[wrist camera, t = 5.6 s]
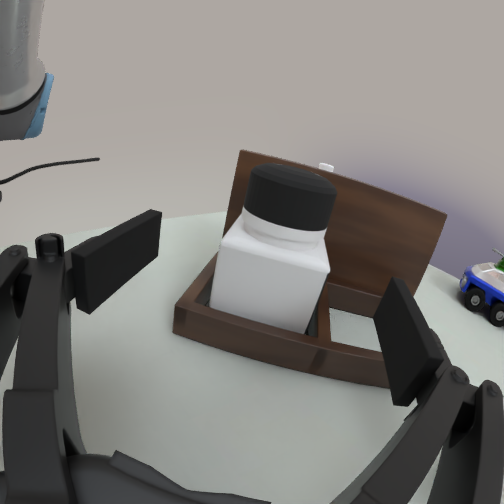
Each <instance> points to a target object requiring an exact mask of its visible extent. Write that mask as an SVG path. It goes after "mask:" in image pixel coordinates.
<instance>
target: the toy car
mask: <svg viewBox="0 0 504 504" xmlns="http://www.w3.org/2000/svg"><path fill="white" fill-rule="evenodd" d="M493 251H494V252H497V253H498V254H500V255H502V256H503V258H502V259H501V260H499V262H498V263H497V264H494V263H491V262H489V263H485V264H477V265H475V266H468V267H467V268H466V270H465V272H464V274H463V278H462V279H461V280H460V287H461V290H462V291H463V292H464V293H465V292H466V290H467V292H466V297H465V304H466V306H467V308H468V309H469V310H470V311H474V312H476V311H479V310H480V309H482V308H483V306H484V305H485V302H486V303H488V304H489V305H490V307H491V308H490V319H491V322H492V324H493V325H495V326H498V327H500V326H503V325H504V254H502V253H501V252H499V251H498V250H497V249H495V248H493Z"/></svg>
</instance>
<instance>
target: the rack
mask: <svg viewBox="0 0 504 504" xmlns="http://www.w3.org/2000/svg"><path fill="white" fill-rule="evenodd" d="M265 163H275V164H282V165H288V166H293V167H297V168H300V169H304V170H307V171H310V172H312V173H315V174H318V175H320V176H322V177H325V178H326V179H328V180H329V181H330V182H331V183H332V184H333V185H334V186H335V188H336V190H337V196H336V200H335V203H334V206H333V210H332V213H331V216H330V220H329V223H328V226H327V229H326V232H325V236H324V242H325V247H326V251H327V256H328V261H329V266H330V273H329V276H328V278H327V281H326V284H325V287H324V289H323V292H322V294H321V297H320V300H319V302H318V305H317V307H316V310H315V312H314V315H313V317H312V320H311V322H310V325H309V327H308V335H305V334H301V333H297V332H293V331H289V330H286V329H282V328H278V327H275V326H271V325H267V324H264V323H260V322H257V321H253V320H250V319H246V318H243V317H240V316H236V315H233V314H230V313H226V312H223V311H220V310H217V309H214V308H210V307H207V306H205V305H206V303H207V301H208V300H209V298H210V296H211V290H212V284H213V279H214V273H215V267H216V262H217V256H218V252H217V253H216V254H215V256H214V257H213V258H212V259H211V260H210V262H209V263H208V264H207V265H206V267H205V268H204V269H203V270H202V272H201V273H200V274H199V275H198V277H197V278H196V279H195V280H194V282H193V283H192V284H191V285H190V287H189V288H188V289H187V290H186V292H185V293H184V294H183V296H182V297H181V298H180V299H179V300H178V301H177V303H176V304H175V308H174V321H173V333H175V334H178V335H180V336H183V337H186V338H189V339H192V340H195V341H198V342H201V343H203V344H206V345H210V346H213V347H216V348H219V349H222V350H225V351H228V352H232V353H235V354H238V355H242V356H245V357H248V358H252V359H255V360H259V361H263V362H266V363H270V364H274V365H278V366H281V367H285V368H289V369H293V370H298V371H302V372H306V373H310V374H315V375H319V376H324V377H329V378H334V379H339V380H344V381H349V382H354V383H360V384H366V385H372V386H378V387H384V388H390V386H389V381H388V376H387V372H386V368H385V363H384V359H383V355H382V352H378V351H373V350H369V349H364V348H359V347H355V346H350V345H346V344H342V343H337V342H333V341H331V332H330V315H329V307H332V308H336V309H340V310H344V311H347V312H351V313H355V314H359V315H363V316H367V317H371V318H373V316H374V314H375V312H376V310H377V308H378V306H379V303H380V301H381V299H382V297H383V295H384V293H385V291H386V288H387V286H388V284H389V282H390V279H391V277H392V276H393V277H396V278H399V279H403V280H404V282H405V283H406V285H407V287H408V289H409V290H410V292H411V294H412V296H414V294H415V292H416V290H417V288H418V286H419V284H420V282H421V280H422V277H423V275H424V273H425V271H426V268H427V266H428V264H429V261H430V259H431V257H432V254H433V252H434V249H435V247H436V245H437V242H438V239H439V237H440V234H441V232H442V229H443V226H444V223H445V221H446V218H447V214H446V213H444V212H442V211H439V210H437V209H435V208H432V207H430V206H427V205H425V204H422V203H420V202H417V201H415V200H412V199H410V198H407V197H404V196H401V195H399V194H396V193H393V192H390V191H388V190H385V189H382V188H379V187H376V186H373V185H370V184H367V183H364V182H361V181H358V180H355V179H352V178H349V177H346V176H343V175H339V174H336V173H333V172H329V171H326V170H322V169H319V168H315V167H312V166H308V165H305V164H301V163H297V162H293V161H289V160H286V159H282V158H278V157H273V156H269V155H265V154H261V153H256V152H252V151H247V150H240V153H239V157H238V162H237V167H236V172H235V176H234V181H233V186H232V191H231V197H230V201H229V206H228V211H227V216H226V221H225V227H224V232H223V237H224V236H225V234H226V233H227V232H228V231H229V229H230V228H231V227H232V225H233V224H234V223H235V221H236V220H237V219H238V217H239V216H240V215H241V214H242V209H243V205H244V200H245V195H246V191H247V186H248V182H249V177H250V172H251V169H253V168H254V167H255V166H257V165H261V164H265ZM223 237H222V238H223Z"/></svg>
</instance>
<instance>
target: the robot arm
mask: <svg viewBox="0 0 504 504" xmlns="http://www.w3.org/2000/svg"><path fill="white" fill-rule="evenodd" d="M44 2H45V0H0V141H3V140H17V139H20V140H24V139H26V138H34V137H37V136H38V135H39V134H40V133H41V131H42V128H43V122H44V118H45V113H46V108H47V103H48V99H49V95H50V90H51V87H52V83H53V80H54V76H53V75H52V74H49V73H45V67H44V65H43V63H42V61H41V60H40V59H38V58H37V54H38V43H39V34H40V26H41V19H42V13H43V7H44ZM99 160H100V158H90V159H81V160H71V161H61V162H54V163H48V164H42V165H38V166H34V167H31V168H28V169H26V170H24V171H22V172H20V173H17V174H15V175H13V176H11V177H9V178H6V179H3V180H0V185H2V184H5V183H8V182H10V181H12V180H14V179H16V178H18V177H20V176H22V175H24V174H26V173H28V172H30V171H34V170H37V169H41V168H46V167H51V166H58V165H66V164H76V163H84V162H92V161H99ZM161 218H162V212H159V211H155V210H152V209H150V210H148V211H146V212H144V213H142V214H140V215H138V216H136V217H134V218H132V219H130V220H128V221H126V222H124V223H122V224H120V225H118V226H117V227H115V228H113V229H111V230H109V231H107V232H105V233H103V234H101V235H99V236H95V237H92V238H89V239H88V240H86V241H84V242H82V243H80V244H79V245H77V246H75V247H73V248H71V249H70V250H68V251H66V252H64V241H63V236H61V235H59V234H55V233H49V234H44V235H41V236H39V237H37V238H36V239H35V246H36V254H37V259H36V258H30V257H28V252H27V248H26V247H25V246H22V245H13V246H11V247H9V248H7V249H5V250H4V251H3V252H2V253H1V254H0V380H1V377H2V374H3V372H4V369H5V366H6V364H7V361H8V359H9V356H10V354H11V352H12V349H13V347H14V345H15V342H16V340H17V338H18V344H17V351H16V359H15V368H14V379H13V389H12V390H9V389H7V390H6V391H5V392H4V397H3V419H2V434H3V457H4V469H5V471H0V504H271V502H268V501H262V500H257V499H252V498H248V497H243V496H239V495H235V494H226V493H210V492H199V491H191V490H187V489H185V488H183V487H181V486H180V485H178V484H176V483H175V482H173V481H172V480H170V479H169V478H167V477H166V476H164V475H163V474H161V473H160V472H158V471H157V470H155V469H154V468H153V467H151V466H149V465H147V464H144V463H142V462H140V461H138V460H136V459H134V458H131V457H129V456H127V455H125V454H123V453H121V452H119V451H117V450H116V451H115V452H114V454H113V456H112V457H110V456H106V455H100V454H87V453H86V450H85V447H84V444H83V441H82V438H81V433H80V428H79V422H78V415H77V408H76V400H75V392H74V382H73V370H72V353H71V305H70V301H71V300H72V299H74V298H76V305H77V309H79V310H81V311H83V312H85V313H87V314H89V315H90V314H91V313H92V312H93V311H94V310H95V309H96V308H98V307H99V306H100V305H101V304H102V303H103V302H104V301H105V300H107V299H108V298H109V297H110V296H111V295H112V294H114V293H115V292H116V291H117V290H118V289H119V288H120V287H122V286H123V285H124V284H125V283H126V282H127V281H129V280H130V279H131V278H132V277H133V276H135V275H136V274H137V273H138V272H139V271H140V270H142V269H143V268H144V267H145V266H146V265H148V264H149V263H150V262H151V261H153V260H154V259H155V258H156V257H157V256H158V249H159V238H160V228H161ZM373 320H374V324H375V327H376V331H377V335H378V339H379V343H380V347H381V351H382V355H383V359H384V363H385V368H386V372H387V376H388V381H389V386H390V391H391V396H392V401H393V405H396V406H406V407H408V406H409V405H410V404H411V403H412V401H413V400H414V399H415V398H416V399H417V403H418V405H417V406H416V407H415V408H414V409H413V410H412V411H411V413H410V414H409V415H408V416H407V417H406V418H405V419H404V421H405V422H404V423H403V424H402V426H401V427H400V428H399V429H398V431H397V432H396V433H395V435H394V436H393V437H392V438H391V440H390V441H389V442H388V443H387V444H386V446H385V447H384V448H383V449H382V450H381V452H380V453H379V454H378V455H377V456H376V457H375V459H374V460H373V461H372V462H371V463H370V464H369V465H368V466H367V467H366V468H365V469H364V471H363V472H362V473H361V474H360V475H359V476H358V477H357V478H356V479H355V480H354V481H353V482H352V483H351V484H350V485H349V486H348V487H347V488H346V489H345V490H344V491H343V492H342V493H341V494H339V495H338V496H337V497H336V498H335V499H334V500H333V501H332V502H331V503H330V504H408V502H409V501H410V499H411V498H412V496H413V495H414V493H415V492H416V490H417V489H418V487H419V486H420V484H421V483H422V481H423V480H424V478H425V476H426V475H427V473H428V471H429V470H430V468H431V466H432V464H433V463H434V461H435V459H436V457H437V455H438V454H439V452H440V450H441V448H442V446H443V448H442V452H441V457H440V461H439V465H438V469H437V473H436V476H435V480H434V483H433V486H432V490H431V493H430V496H429V499H428V502H427V504H500V503H501V495H502V487H503V477H504V406H503V395H502V391H501V390H500V387H499V386H498V385H497V384H496V383H494V382H492V381H490V380H485V381H484V382H483V383H482V384H481V385H480V386H479V388H478V387H476V386H473V385H471V384H469V378H468V376H467V374H466V373H465V372H464V371H463V370H462V369H460V368H458V367H457V366H453V365H452V364H451V362H450V360H449V358H448V356H447V353H446V351H445V350H444V347H443V345H442V344H441V341H440V339H439V337H438V335H437V334H436V333H435V332H434V331H433V330H432V329H430V328H429V326H428V324H427V322H426V320H425V318H424V316H423V314H422V313H421V311H420V309H419V307H418V305H417V303H416V301H415V299H414V298H413V296H412V294H411V292H410V290H409V289H408V287H407V285H406V283H405V282H404V280H403V279H399V278H396V277H393V276H392V277H391V279H390V282H389V284H388V286H387V288H386V291H385V293H384V295H383V297H382V299H381V301H380V303H379V306H378V308H377V310H376V312H375V314H374V316H373ZM18 336H19V337H18Z"/></svg>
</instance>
